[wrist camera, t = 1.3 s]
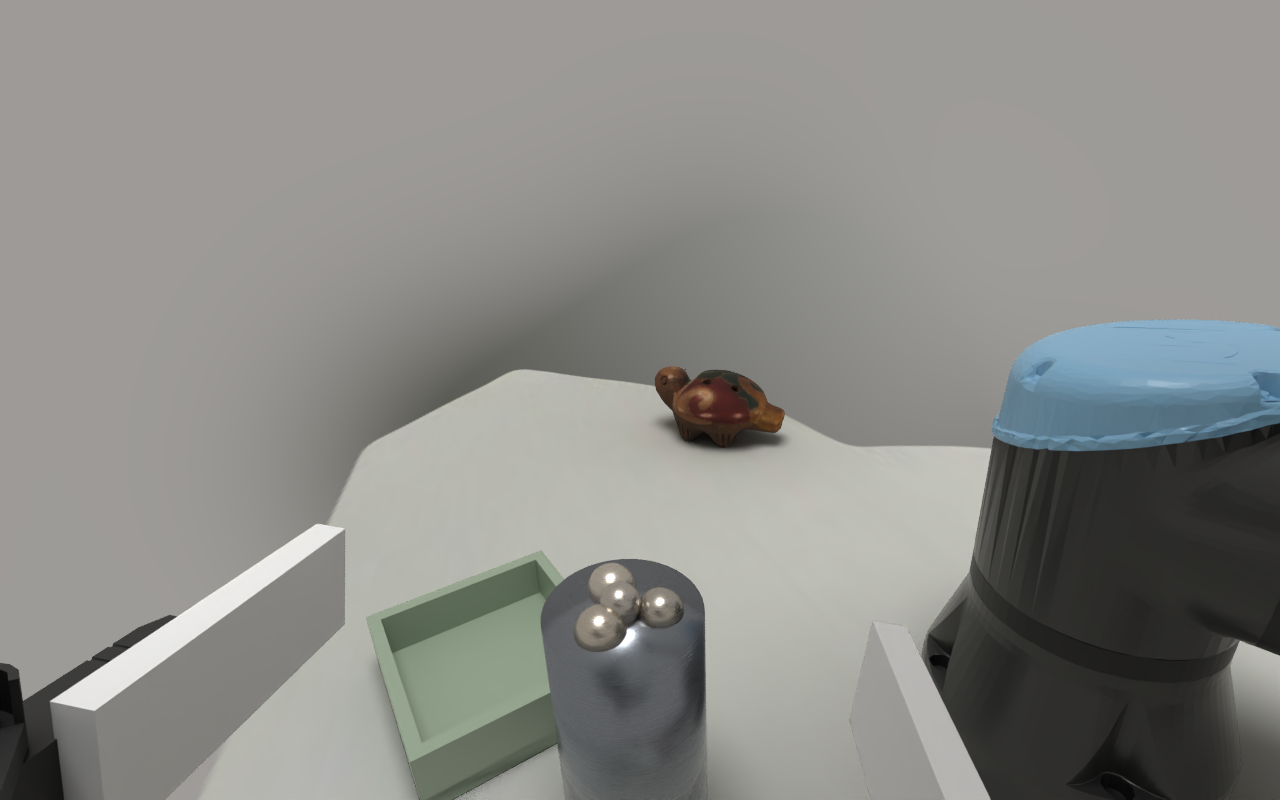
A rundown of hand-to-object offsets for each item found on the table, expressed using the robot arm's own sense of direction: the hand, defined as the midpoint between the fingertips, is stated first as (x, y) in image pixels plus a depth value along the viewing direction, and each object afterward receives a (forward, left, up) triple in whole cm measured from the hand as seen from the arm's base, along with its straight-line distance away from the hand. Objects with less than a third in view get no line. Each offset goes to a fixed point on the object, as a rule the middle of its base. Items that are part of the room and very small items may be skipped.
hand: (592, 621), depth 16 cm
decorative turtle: (-36, -41, -22) cm, 59 cm away
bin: (-2, -21, -22) cm, 30 cm away
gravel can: (-5, -8, -22) cm, 24 cm away
